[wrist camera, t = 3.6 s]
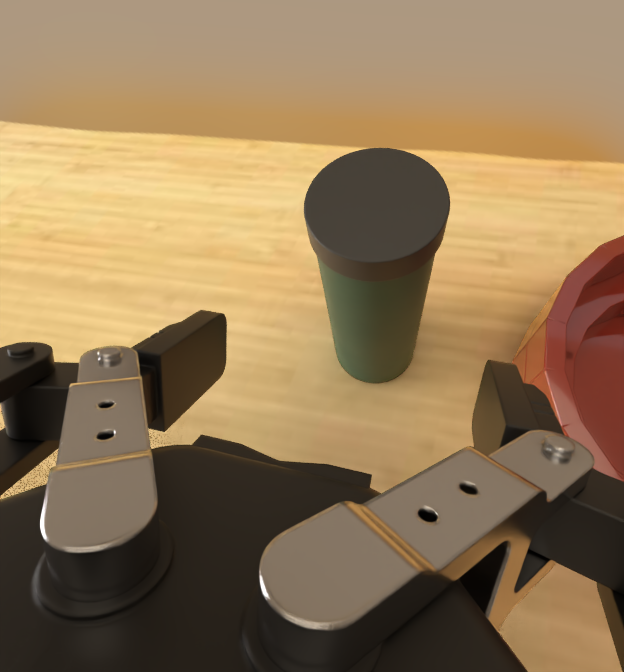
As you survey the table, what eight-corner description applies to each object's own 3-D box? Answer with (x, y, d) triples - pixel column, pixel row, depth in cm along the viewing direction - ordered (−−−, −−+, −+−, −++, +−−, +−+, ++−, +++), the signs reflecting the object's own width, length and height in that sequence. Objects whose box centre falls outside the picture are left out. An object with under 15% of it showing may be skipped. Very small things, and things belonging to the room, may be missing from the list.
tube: (422, 317, 26) (458, 153, 15) (409, 393, 24) (439, 272, 13) (343, 304, 27) (322, 141, 16) (325, 377, 25) (287, 251, 14)
